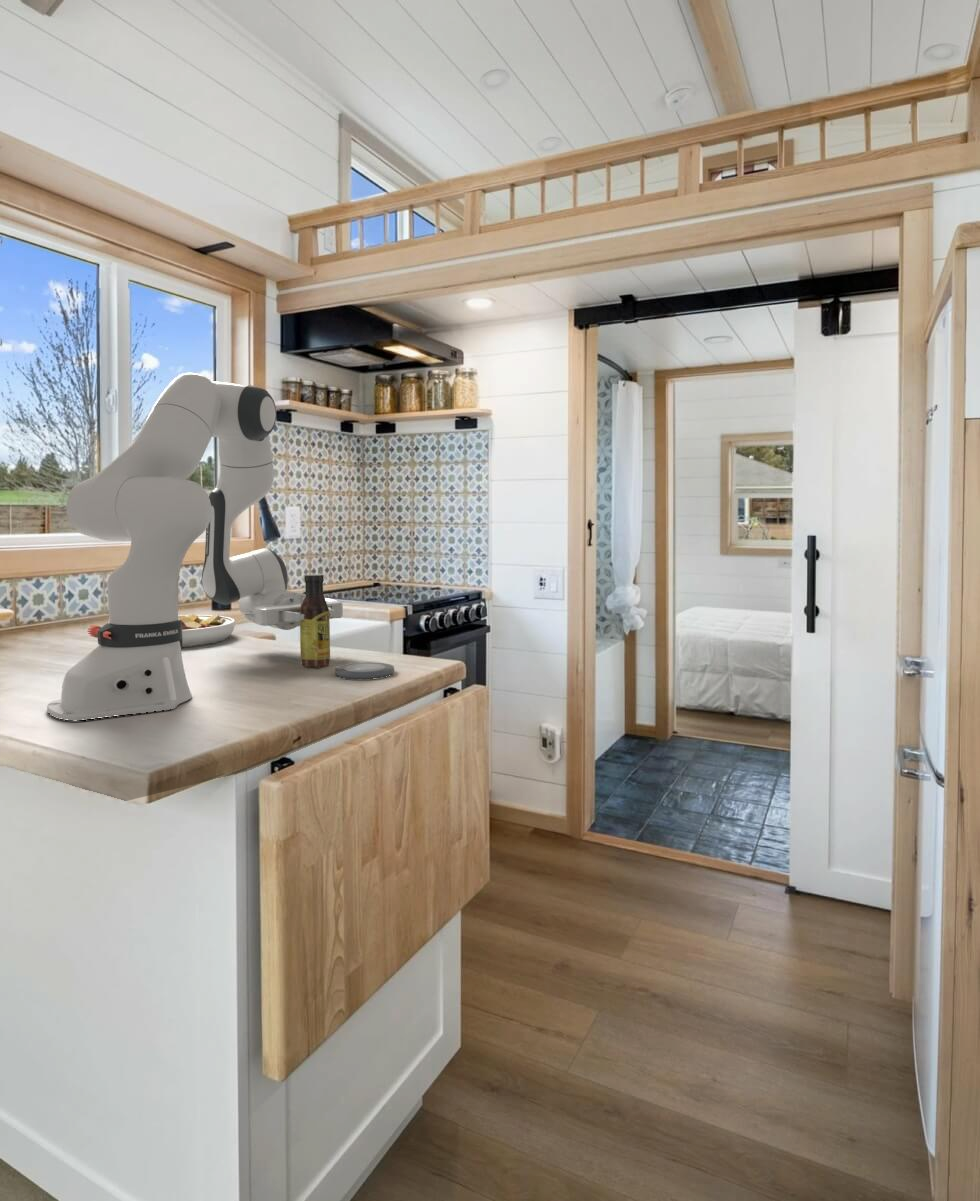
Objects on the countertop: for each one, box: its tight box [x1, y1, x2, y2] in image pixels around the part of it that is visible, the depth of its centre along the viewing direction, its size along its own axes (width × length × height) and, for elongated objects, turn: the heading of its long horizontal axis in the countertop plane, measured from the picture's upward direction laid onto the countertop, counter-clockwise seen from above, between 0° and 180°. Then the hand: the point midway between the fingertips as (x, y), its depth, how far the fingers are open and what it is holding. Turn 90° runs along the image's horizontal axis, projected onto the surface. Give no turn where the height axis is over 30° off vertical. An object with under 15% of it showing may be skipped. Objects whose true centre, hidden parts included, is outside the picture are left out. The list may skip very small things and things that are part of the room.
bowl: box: [178, 613, 236, 648], centre depth 199 cm, size 30×30×8 cm
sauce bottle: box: [299, 573, 331, 669], centre depth 165 cm, size 6×6×20 cm
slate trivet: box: [334, 661, 395, 680], centre depth 158 cm, size 12×12×1 cm
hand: (317, 615), depth 164 cm, fingers closed on sauce bottle, 6 cm apart
